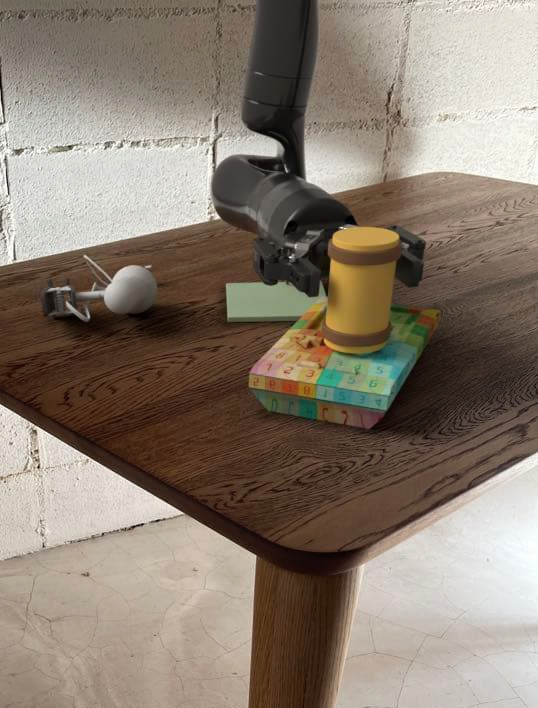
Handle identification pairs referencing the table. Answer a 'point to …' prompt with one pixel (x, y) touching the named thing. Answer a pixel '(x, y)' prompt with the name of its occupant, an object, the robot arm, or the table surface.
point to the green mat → (267, 302)
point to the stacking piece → (360, 289)
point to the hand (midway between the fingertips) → (366, 280)
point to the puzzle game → (340, 369)
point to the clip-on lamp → (105, 293)
